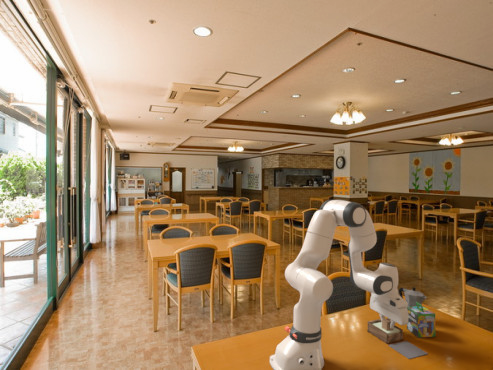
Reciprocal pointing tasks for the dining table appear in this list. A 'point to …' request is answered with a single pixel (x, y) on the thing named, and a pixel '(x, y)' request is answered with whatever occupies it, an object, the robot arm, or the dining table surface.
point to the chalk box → (421, 321)
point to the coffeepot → (412, 296)
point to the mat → (408, 349)
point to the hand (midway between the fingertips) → (387, 325)
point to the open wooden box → (384, 333)
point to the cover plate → (386, 326)
